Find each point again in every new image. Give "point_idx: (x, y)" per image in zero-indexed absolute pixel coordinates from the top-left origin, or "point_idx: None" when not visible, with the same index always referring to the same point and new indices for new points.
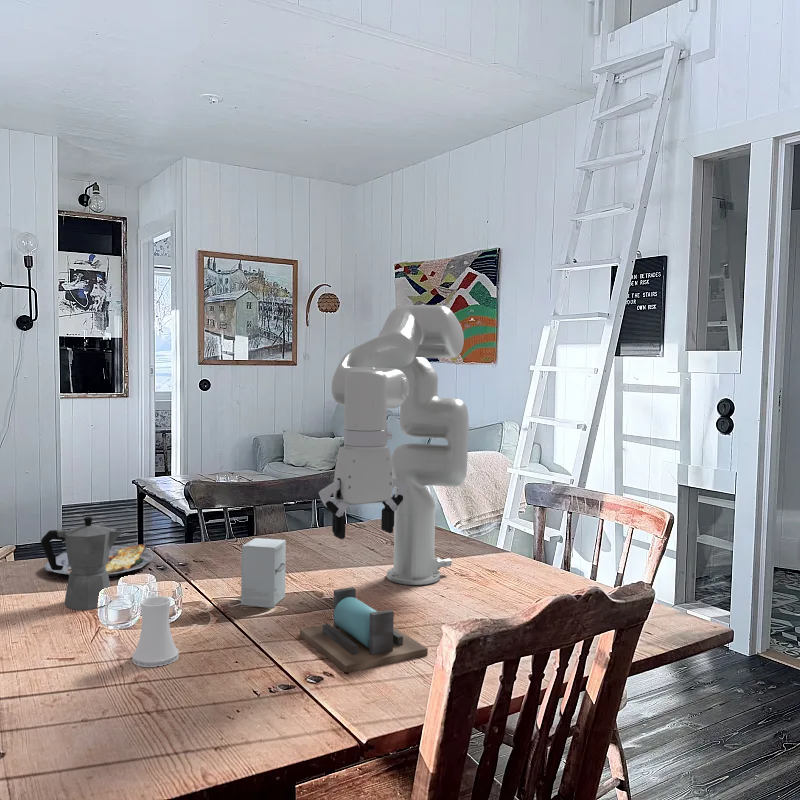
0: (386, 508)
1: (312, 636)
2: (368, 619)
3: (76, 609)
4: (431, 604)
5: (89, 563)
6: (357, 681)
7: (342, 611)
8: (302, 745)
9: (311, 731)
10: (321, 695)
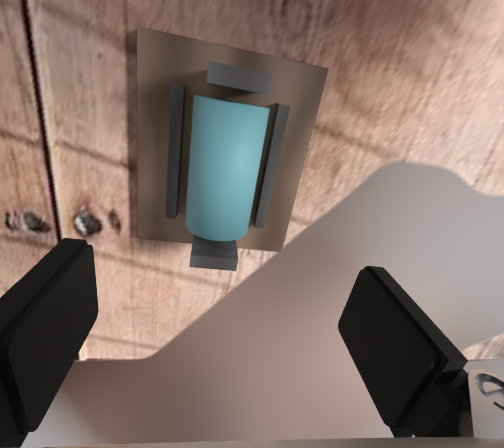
0: (427, 414)
1: (143, 91)
2: (197, 235)
3: None
4: (484, 60)
5: None
6: (143, 260)
7: (195, 135)
8: None
9: None
10: None
